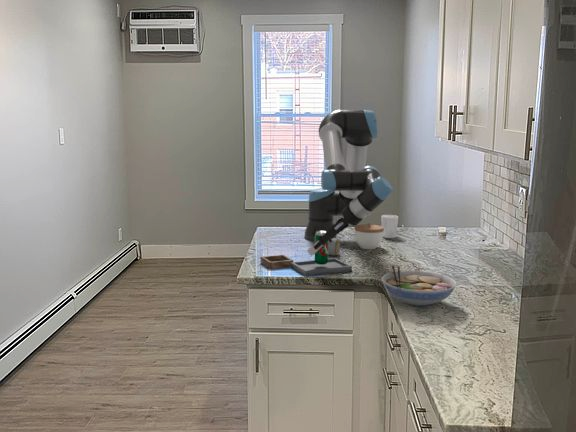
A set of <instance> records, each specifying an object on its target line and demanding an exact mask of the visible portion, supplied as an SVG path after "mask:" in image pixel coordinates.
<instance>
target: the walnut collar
mask: <svg viewBox="0 0 576 432" xmlns="http://www.w3.org/2000/svg"><path fill="white" fill-rule="evenodd" d="M291 262H294V259H292V258H290V257H288V256H287V255H285V254H277V255H266V256H265V255H264V256H263V255H262V256H260V264H261V265H263V266H264V267H266V268H268V269H269V270H274V269H284V268H285V269H286V268H291Z"/></svg>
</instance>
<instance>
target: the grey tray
mask: <svg viewBox="0 0 576 432" xmlns="http://www.w3.org/2000/svg"><path fill="white" fill-rule="evenodd" d="M314 261H315V259H312V260H301V261H300V260H299V261H293V262H291V267H290V268H291V269H292V270H295V272H297V271H298V272H297V273H299V274H301V275H302V274H303V275H302V276H304V277H311V276H312V277H313V276H320V275H330V274H339V272H341V273H346V271H350V272H352V271H353V270H352V268H353V267H352V265H350V264H349V263H346V262H345V261H343V260H340V259H339V258H336V257H332V258H328V263H327V264H323V265H320V264H316V263H315V262H314Z"/></svg>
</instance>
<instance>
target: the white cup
mask: <svg viewBox="0 0 576 432" xmlns="http://www.w3.org/2000/svg"><path fill="white" fill-rule="evenodd" d="M380 223H381V224H380V226H382V227H383V228H384V231H383V238H385V239H395V238H397V231H398V225H399V224H398V223H399V216H398V215H396V214H382V215H381V220H380Z"/></svg>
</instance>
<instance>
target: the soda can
mask: <svg viewBox="0 0 576 432" xmlns="http://www.w3.org/2000/svg"><path fill="white" fill-rule="evenodd" d="M326 232H327V231H316V234H315V240H314V244H315V243H316V242H317V241H318V239H317V238H321V237H322V236H323V235H324V234H325V233H326ZM328 259H329V255H328V241H327V242H326V243H325V244H324V246H322V247H321V248H320V249H319V250H318V251H317V252H316V253H315V254H314V260H315V261H314V262H315V263H316V264H320V265H323V264H327V263H328Z"/></svg>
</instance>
